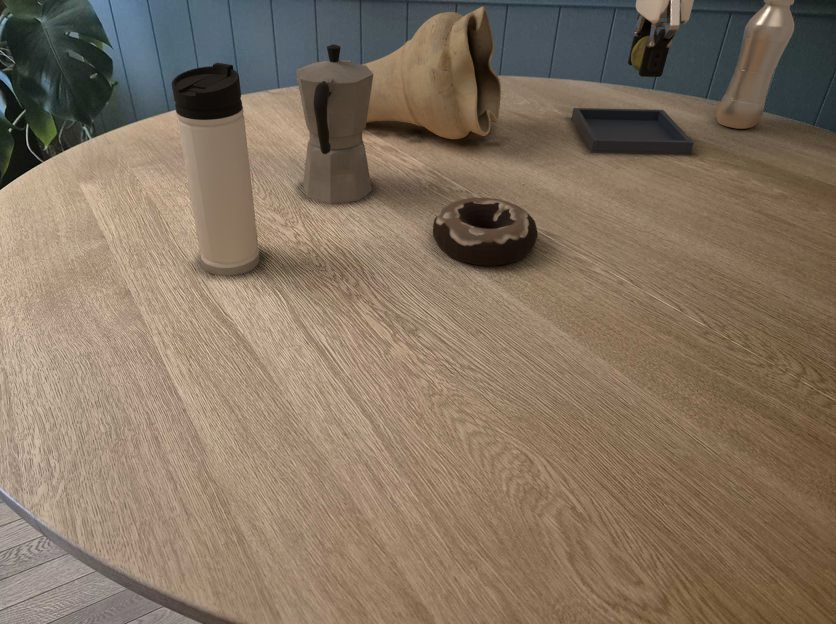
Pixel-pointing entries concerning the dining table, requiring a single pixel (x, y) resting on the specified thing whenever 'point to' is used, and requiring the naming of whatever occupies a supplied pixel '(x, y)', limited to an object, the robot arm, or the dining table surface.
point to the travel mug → (217, 167)
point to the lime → (639, 52)
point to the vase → (440, 78)
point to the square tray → (630, 131)
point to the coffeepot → (335, 128)
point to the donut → (485, 231)
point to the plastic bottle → (756, 64)
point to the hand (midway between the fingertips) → (644, 69)
